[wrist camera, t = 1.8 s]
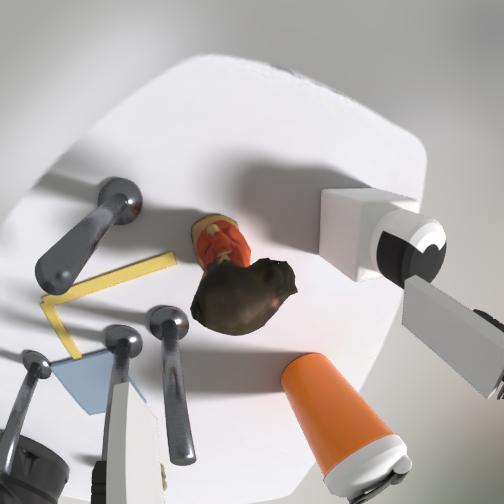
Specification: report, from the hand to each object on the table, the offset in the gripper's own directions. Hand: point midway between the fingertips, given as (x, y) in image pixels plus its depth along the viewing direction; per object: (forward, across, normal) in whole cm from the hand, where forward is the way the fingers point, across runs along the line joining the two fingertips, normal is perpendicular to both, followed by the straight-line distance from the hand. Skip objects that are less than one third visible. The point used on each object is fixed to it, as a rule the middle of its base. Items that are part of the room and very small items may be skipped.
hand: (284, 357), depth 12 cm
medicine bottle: (+17, +14, -2) cm, 22 cm away
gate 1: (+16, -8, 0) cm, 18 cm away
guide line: (+16, -12, -4) cm, 21 cm away
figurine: (+17, 0, 0) cm, 17 cm away
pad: (+16, -20, -12) cm, 28 cm away
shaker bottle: (+17, +6, -21) cm, 27 cm away
